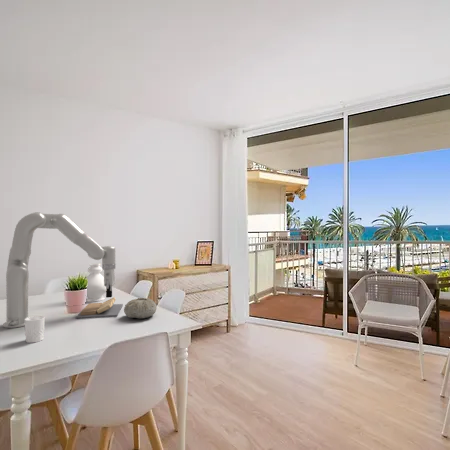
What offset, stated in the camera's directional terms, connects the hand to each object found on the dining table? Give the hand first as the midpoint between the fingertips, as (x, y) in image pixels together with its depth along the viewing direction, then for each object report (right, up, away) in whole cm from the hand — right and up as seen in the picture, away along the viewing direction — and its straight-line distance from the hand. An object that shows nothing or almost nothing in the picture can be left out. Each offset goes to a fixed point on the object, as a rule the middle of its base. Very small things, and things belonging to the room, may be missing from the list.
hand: (109, 297), depth 192 cm
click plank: (-1, -6, 0) cm, 6 cm away
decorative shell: (+22, -9, -12) cm, 27 cm away
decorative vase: (-21, -9, +31) cm, 38 cm away
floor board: (-5, -9, -1) cm, 10 cm away
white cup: (-16, -9, -49) cm, 52 cm away
